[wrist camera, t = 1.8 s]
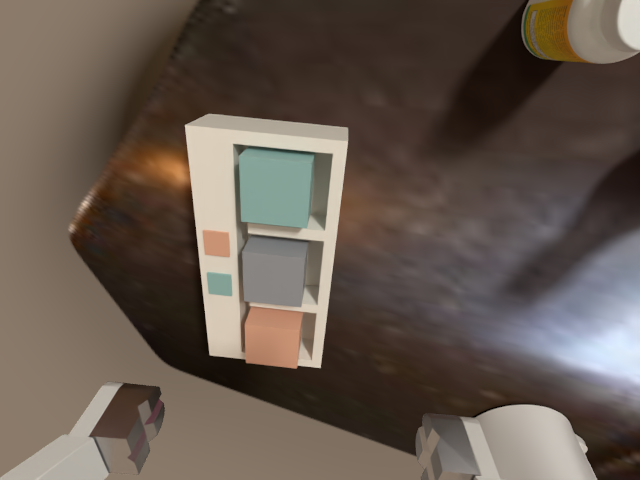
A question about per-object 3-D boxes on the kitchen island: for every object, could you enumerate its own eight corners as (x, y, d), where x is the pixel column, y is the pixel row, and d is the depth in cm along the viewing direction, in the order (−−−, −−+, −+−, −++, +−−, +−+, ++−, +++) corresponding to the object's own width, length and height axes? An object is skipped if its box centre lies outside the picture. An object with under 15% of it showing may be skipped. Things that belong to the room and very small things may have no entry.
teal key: (310, 212, 29) (307, 228, 27) (250, 206, 30) (241, 221, 27) (315, 152, 27) (311, 163, 24) (249, 145, 27) (238, 155, 24)
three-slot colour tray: (323, 334, 41) (320, 369, 37) (224, 322, 41) (208, 356, 37) (347, 127, 29) (348, 142, 25) (209, 113, 30) (183, 125, 25)
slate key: (304, 287, 33) (301, 307, 31) (251, 281, 33) (243, 301, 31) (308, 240, 31) (304, 258, 28) (251, 234, 31) (242, 251, 28)
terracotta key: (300, 346, 37) (297, 368, 35) (253, 340, 37) (245, 362, 35) (303, 309, 35) (299, 330, 32) (252, 303, 35) (244, 324, 32)
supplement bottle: (555, -46, 23) (674, -100, 15) (618, -6, 24) (765, -35, 15) (502, 39, 25) (577, 35, 17) (559, 73, 26) (658, 84, 18)
